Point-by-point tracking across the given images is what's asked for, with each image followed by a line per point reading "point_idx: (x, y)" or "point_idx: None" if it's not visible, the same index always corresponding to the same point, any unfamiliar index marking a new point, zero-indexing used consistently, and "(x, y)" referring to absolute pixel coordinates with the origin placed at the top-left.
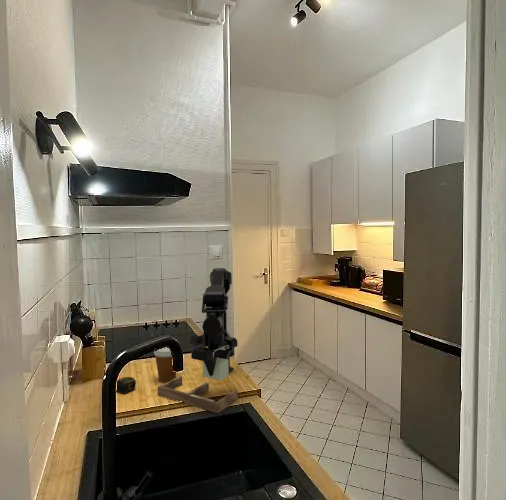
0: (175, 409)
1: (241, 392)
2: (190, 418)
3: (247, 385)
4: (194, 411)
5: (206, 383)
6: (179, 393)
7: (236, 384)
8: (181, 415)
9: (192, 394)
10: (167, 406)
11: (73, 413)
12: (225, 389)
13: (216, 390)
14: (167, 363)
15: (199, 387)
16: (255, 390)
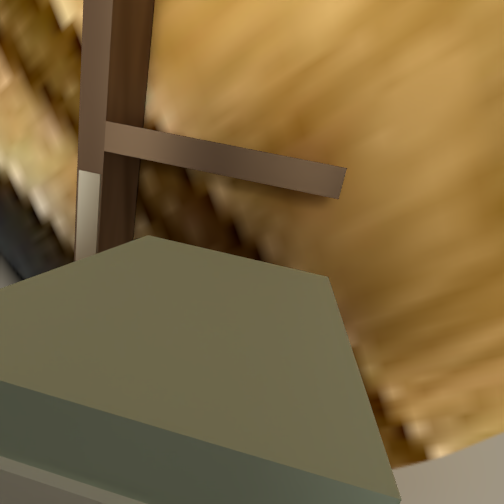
0: (41, 115)
1: (373, 395)
2: (10, 247)
3: (494, 405)
4: (71, 233)
5: (326, 184)
6: (85, 56)
7: (500, 335)
8: (9, 188)
9: (98, 178)
10: (45, 38)
11: None
12: (394, 291)
13: (363, 239)
14: None
15: (231, 164)
16: (421, 460)
